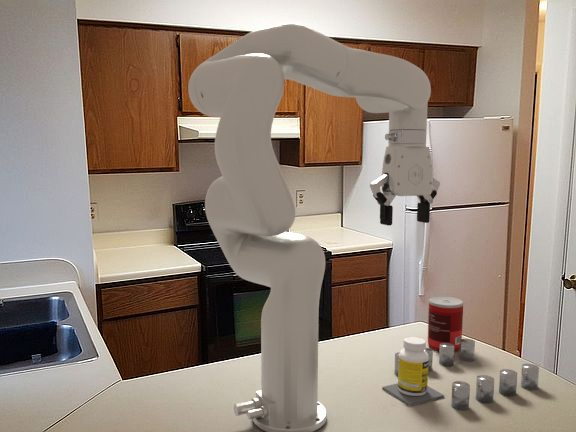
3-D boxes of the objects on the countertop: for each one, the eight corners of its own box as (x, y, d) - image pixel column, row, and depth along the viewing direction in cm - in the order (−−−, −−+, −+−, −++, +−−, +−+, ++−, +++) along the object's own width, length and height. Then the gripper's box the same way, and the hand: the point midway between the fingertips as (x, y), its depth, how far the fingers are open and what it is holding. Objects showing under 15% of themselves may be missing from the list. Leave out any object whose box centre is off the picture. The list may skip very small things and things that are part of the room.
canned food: (457, 341, 129) (459, 296, 128) (465, 353, 121) (467, 305, 120) (424, 340, 130) (426, 295, 128) (430, 352, 122) (431, 304, 121)
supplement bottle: (425, 399, 97) (428, 347, 96) (395, 394, 99) (397, 343, 98) (428, 387, 102) (430, 337, 101) (399, 382, 104) (401, 334, 103)
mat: (410, 406, 95) (410, 404, 95) (382, 388, 102) (382, 386, 102) (444, 397, 99) (444, 395, 99) (415, 380, 106) (415, 379, 106)
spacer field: (460, 411, 94) (461, 389, 93) (391, 372, 110) (391, 353, 110) (541, 387, 103) (542, 367, 103) (466, 355, 120) (467, 337, 119)
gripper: (384, 138, 102) (382, 228, 104) (452, 140, 110) (449, 223, 112) (361, 139, 109) (359, 223, 110) (427, 140, 116) (424, 219, 118)
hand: (404, 223), depth 111 cm, fingers open, 9 cm apart
